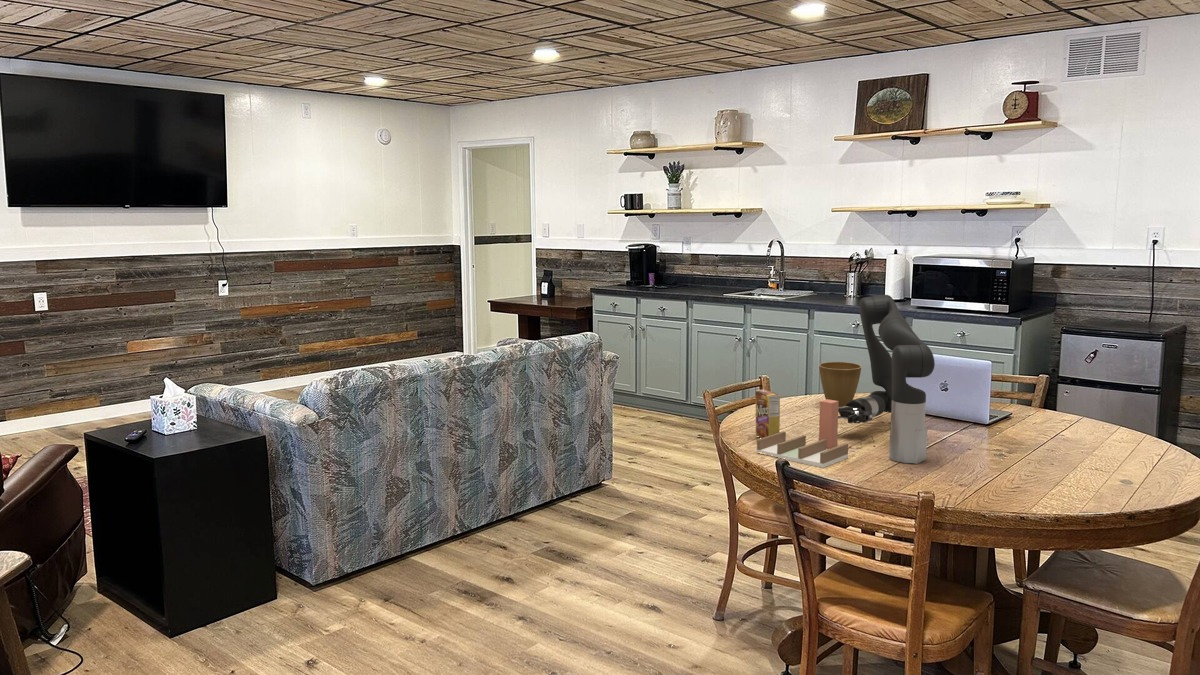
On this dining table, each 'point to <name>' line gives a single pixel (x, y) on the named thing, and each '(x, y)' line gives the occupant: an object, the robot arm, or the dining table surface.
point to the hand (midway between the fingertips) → (836, 417)
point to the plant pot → (839, 380)
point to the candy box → (767, 413)
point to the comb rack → (802, 450)
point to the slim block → (828, 422)
